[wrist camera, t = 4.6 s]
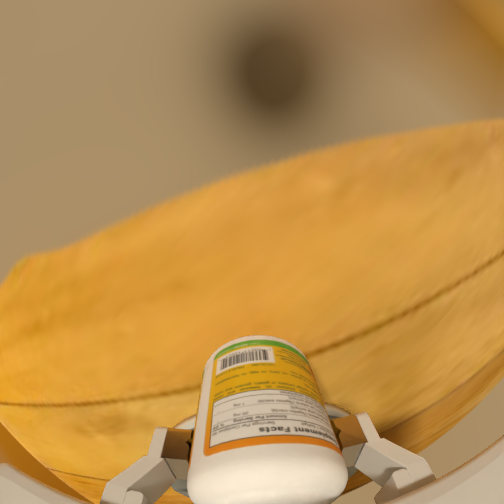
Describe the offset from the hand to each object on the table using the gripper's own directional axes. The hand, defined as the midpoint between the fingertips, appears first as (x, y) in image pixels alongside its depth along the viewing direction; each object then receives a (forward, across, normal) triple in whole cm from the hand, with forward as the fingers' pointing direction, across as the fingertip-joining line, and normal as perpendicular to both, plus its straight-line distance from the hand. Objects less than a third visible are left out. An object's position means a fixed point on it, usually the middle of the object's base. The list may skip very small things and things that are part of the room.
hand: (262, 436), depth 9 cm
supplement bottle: (+4, 0, 0) cm, 4 cm away
